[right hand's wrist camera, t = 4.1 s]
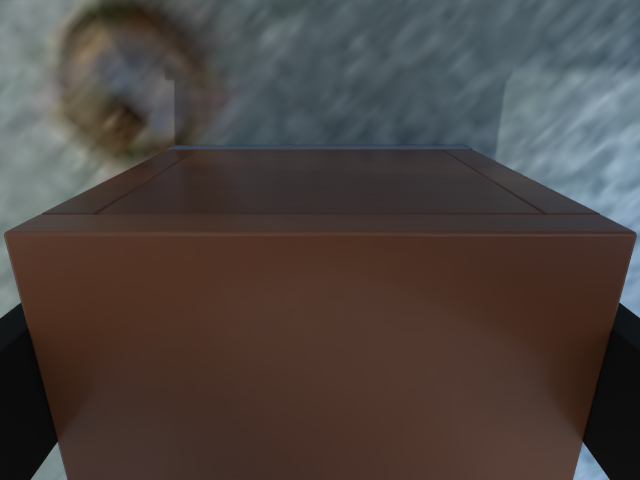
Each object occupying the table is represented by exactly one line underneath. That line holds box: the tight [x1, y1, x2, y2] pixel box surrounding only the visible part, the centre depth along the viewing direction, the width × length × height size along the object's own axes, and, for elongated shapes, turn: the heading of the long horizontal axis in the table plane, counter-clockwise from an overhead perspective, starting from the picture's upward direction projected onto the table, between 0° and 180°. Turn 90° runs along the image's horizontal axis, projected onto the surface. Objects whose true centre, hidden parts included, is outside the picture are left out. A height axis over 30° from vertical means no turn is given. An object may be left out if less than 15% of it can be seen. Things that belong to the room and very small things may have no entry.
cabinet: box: [4, 145, 636, 480], centre depth 15 cm, size 17×11×10 cm, turn 0°
